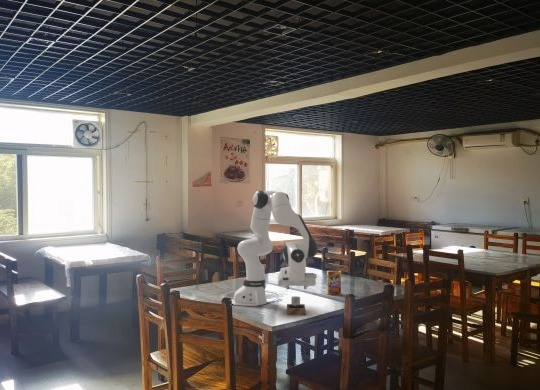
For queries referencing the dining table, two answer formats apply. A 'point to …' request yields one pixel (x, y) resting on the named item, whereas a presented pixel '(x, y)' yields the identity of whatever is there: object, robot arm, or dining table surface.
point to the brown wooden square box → (296, 310)
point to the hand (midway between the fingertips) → (296, 288)
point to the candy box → (333, 282)
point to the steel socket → (295, 302)
